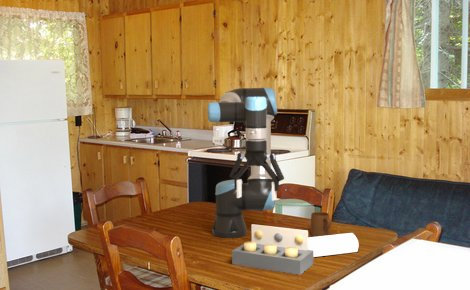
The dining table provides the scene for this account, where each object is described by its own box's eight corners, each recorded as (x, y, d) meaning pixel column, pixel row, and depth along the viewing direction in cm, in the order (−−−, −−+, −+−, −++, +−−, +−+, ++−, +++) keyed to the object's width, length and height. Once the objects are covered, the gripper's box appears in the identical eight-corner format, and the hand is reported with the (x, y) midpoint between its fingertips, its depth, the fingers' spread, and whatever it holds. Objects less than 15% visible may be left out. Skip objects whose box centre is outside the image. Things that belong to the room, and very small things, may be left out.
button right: (283, 260, 186) (283, 249, 186) (287, 257, 190) (287, 246, 189) (295, 262, 184) (294, 251, 183) (299, 259, 188) (299, 247, 187)
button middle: (262, 257, 190) (262, 246, 189) (267, 254, 194) (267, 243, 193) (273, 259, 188) (273, 248, 187) (278, 256, 192) (278, 245, 191)
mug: (337, 239, 224) (338, 217, 223) (322, 241, 222) (322, 218, 221) (323, 232, 235) (323, 211, 235) (307, 234, 233) (307, 212, 232)
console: (232, 264, 193) (231, 231, 192) (248, 254, 204) (248, 223, 203) (300, 275, 181) (300, 240, 180) (313, 264, 192) (313, 231, 191)
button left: (242, 254, 193) (241, 243, 193) (247, 251, 197) (247, 240, 197) (252, 256, 191) (252, 245, 191) (258, 253, 195) (258, 242, 195)
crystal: (308, 250, 196) (365, 244, 204) (300, 236, 201) (356, 230, 209) (303, 264, 200) (359, 257, 208) (296, 250, 206) (351, 244, 213)
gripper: (220, 139, 194) (220, 198, 196) (285, 141, 183) (285, 203, 185) (228, 138, 200) (229, 194, 202) (292, 139, 190) (292, 199, 192)
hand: (256, 198), depth 194 cm, fingers open, 13 cm apart
